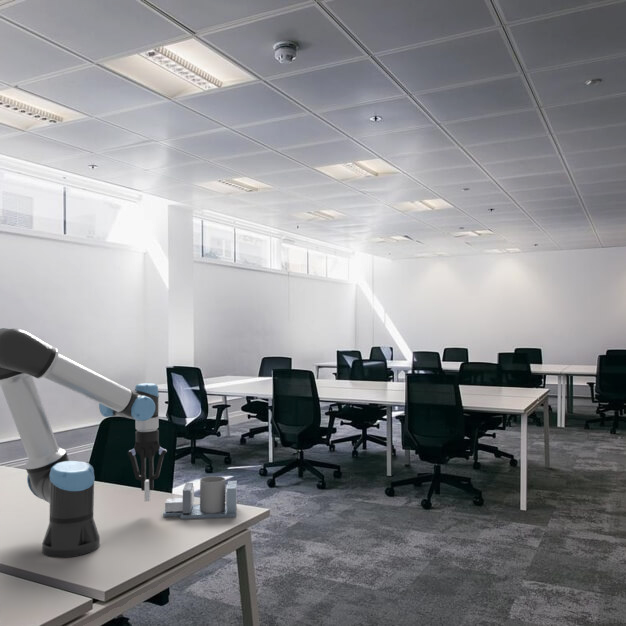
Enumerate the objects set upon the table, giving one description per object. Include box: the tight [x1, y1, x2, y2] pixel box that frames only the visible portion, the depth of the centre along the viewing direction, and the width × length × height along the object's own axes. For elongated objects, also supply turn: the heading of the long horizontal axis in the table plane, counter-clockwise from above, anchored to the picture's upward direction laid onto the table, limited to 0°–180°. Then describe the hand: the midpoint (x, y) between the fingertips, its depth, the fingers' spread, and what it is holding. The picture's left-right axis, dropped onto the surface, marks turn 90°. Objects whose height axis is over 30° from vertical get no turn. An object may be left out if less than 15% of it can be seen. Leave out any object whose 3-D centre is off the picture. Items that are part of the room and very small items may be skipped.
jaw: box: [164, 482, 195, 513], centre depth 199 cm, size 10×9×8 cm
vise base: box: [163, 480, 238, 520], centre depth 200 cm, size 12×24×9 cm, turn 97°
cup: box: [199, 475, 226, 513], centre depth 201 cm, size 8×8×10 cm
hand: (147, 499), depth 198 cm, fingers closed
